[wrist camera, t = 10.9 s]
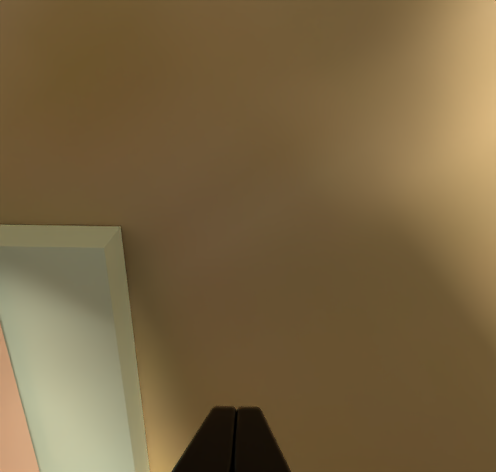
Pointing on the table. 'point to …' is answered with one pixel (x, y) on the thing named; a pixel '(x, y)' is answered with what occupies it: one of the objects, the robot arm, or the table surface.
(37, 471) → the cover
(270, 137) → the table surface
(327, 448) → the table surface
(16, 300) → the board
